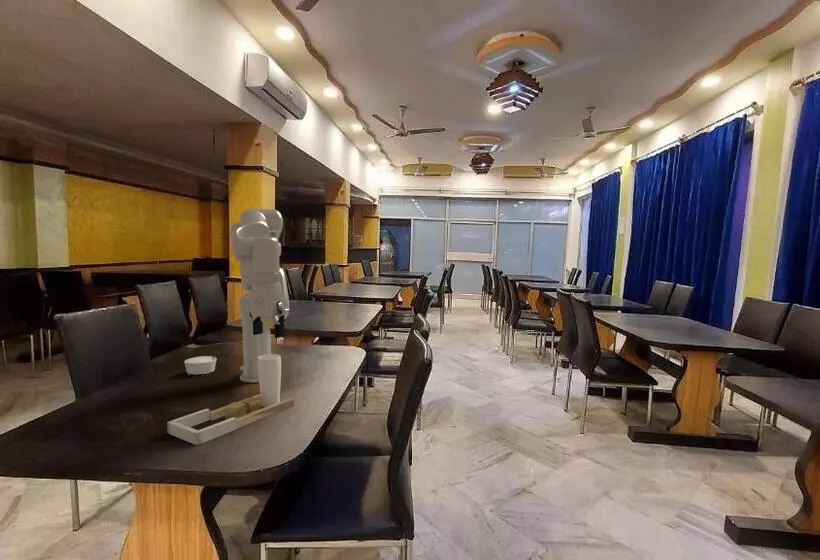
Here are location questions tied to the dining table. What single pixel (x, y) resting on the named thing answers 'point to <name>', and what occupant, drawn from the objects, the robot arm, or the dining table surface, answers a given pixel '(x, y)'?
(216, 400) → the dining table surface
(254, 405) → the wooden cube
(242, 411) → the tan cube
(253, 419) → the channel
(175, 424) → the u-shaped frame
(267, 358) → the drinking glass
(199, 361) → the ramekin
